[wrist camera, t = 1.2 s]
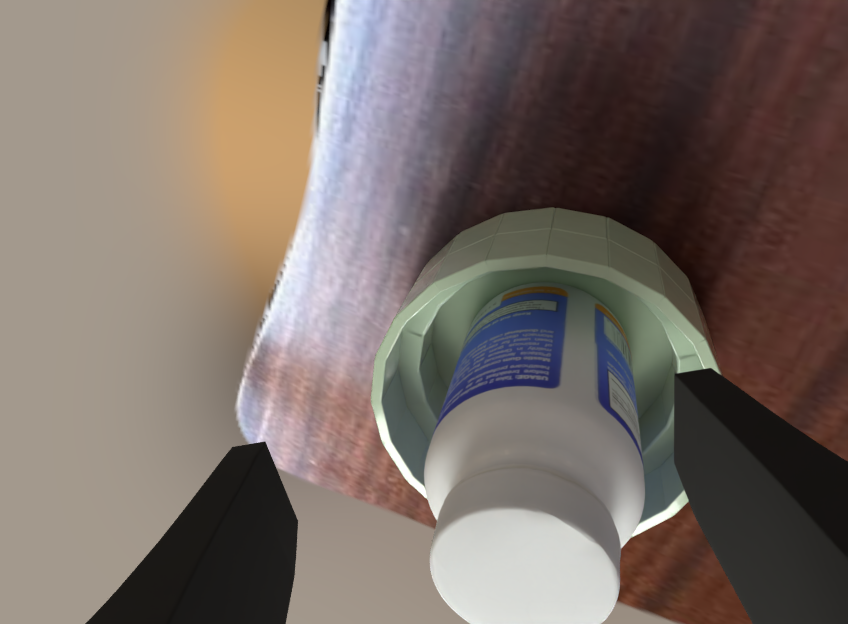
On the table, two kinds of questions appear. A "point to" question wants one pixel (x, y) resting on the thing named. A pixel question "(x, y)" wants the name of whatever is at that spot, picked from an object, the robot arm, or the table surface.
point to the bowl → (559, 263)
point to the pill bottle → (536, 462)
